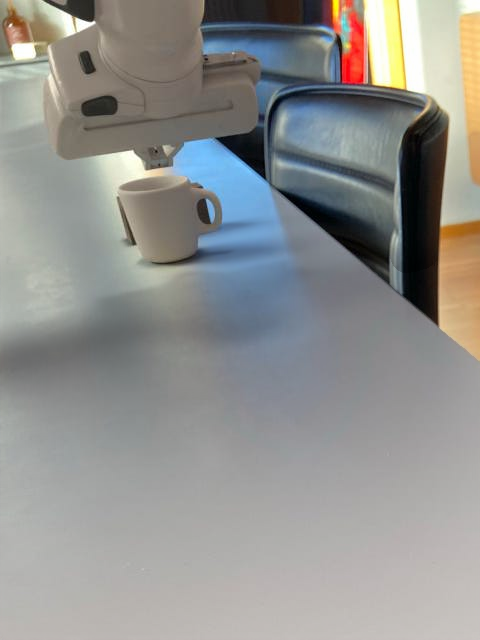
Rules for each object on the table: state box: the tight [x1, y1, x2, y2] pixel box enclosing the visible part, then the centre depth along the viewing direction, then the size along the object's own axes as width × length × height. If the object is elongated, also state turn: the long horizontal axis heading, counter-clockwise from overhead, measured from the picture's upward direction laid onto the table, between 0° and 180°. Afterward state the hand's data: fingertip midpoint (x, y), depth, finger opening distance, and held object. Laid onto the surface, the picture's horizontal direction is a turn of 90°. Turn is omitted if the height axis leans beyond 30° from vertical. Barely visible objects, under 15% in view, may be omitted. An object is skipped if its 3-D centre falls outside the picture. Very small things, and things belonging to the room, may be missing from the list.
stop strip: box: [115, 181, 212, 245], centre depth 125 cm, size 10×3×5 cm, turn 117°
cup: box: [116, 174, 223, 264], centre depth 115 cm, size 11×8×8 cm
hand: (156, 163), depth 106 cm, fingers closed
